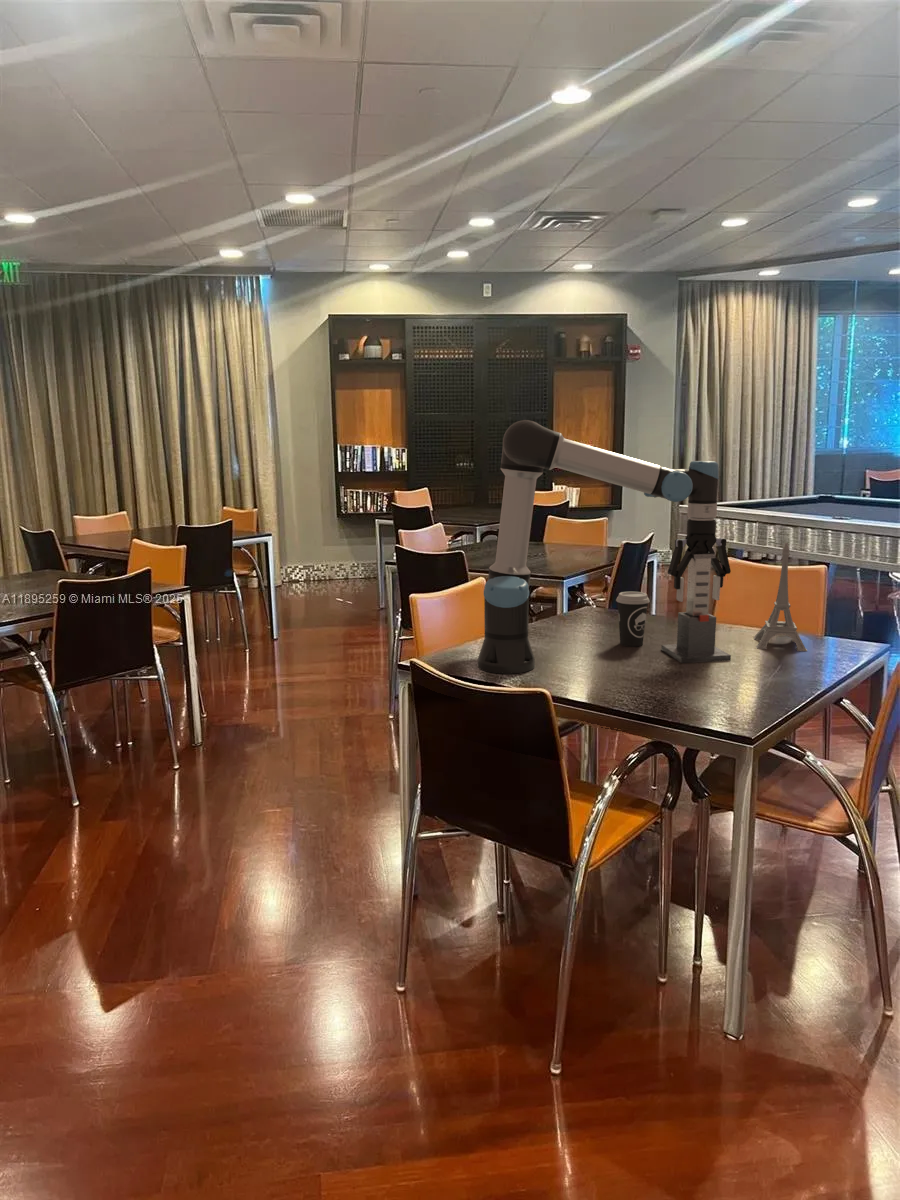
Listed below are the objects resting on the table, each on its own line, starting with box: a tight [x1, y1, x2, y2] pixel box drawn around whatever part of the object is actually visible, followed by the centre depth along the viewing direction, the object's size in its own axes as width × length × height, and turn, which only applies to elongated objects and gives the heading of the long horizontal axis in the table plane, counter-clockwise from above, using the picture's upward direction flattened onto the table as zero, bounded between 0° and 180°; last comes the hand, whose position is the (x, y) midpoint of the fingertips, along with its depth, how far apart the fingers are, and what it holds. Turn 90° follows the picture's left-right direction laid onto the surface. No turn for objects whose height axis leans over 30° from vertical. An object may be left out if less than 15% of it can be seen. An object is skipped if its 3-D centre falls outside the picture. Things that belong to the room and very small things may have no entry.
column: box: [684, 550, 716, 618], centre depth 225 cm, size 6×6×27 cm
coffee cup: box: [615, 591, 650, 648], centre depth 239 cm, size 10×10×15 cm
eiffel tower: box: [753, 542, 808, 652], centre depth 235 cm, size 13×13×30 cm
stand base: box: [660, 611, 732, 664], centre depth 226 cm, size 14×14×12 cm
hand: (697, 600), depth 225 cm, fingers open, 10 cm apart
